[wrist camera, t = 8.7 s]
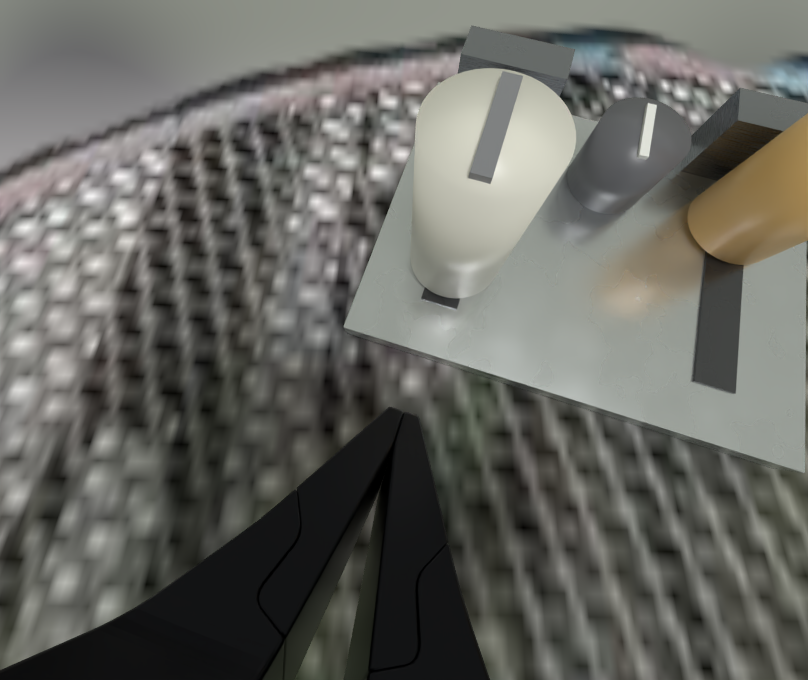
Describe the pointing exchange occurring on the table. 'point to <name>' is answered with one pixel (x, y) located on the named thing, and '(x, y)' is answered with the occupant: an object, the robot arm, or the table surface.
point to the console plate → (619, 293)
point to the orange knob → (757, 203)
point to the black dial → (628, 154)
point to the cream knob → (482, 174)
